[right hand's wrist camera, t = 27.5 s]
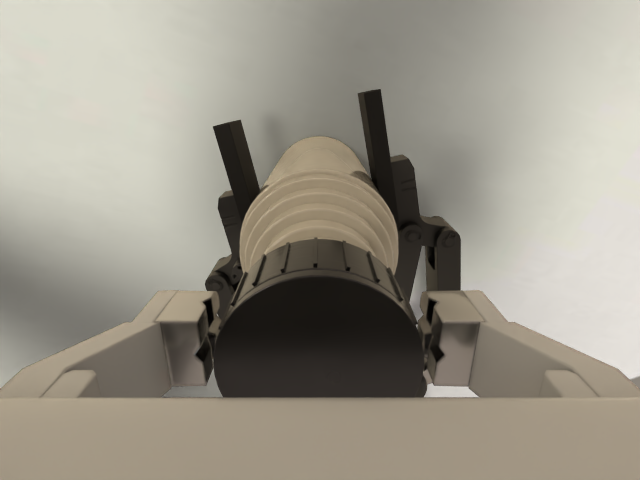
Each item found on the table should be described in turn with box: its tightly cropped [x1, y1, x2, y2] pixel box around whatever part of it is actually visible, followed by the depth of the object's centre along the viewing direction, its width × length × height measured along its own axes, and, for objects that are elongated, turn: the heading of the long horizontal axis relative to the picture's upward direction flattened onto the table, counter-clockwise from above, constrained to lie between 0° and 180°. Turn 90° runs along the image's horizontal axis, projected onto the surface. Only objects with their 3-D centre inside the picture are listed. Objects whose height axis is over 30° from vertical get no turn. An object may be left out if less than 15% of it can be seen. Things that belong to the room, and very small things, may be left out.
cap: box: [213, 237, 424, 397], centre depth 9 cm, size 5×5×2 cm
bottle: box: [240, 136, 399, 275], centre depth 17 cm, size 6×6×18 cm
